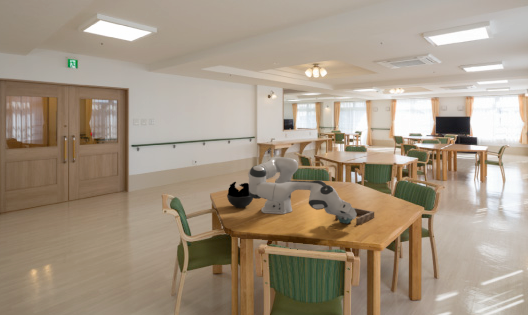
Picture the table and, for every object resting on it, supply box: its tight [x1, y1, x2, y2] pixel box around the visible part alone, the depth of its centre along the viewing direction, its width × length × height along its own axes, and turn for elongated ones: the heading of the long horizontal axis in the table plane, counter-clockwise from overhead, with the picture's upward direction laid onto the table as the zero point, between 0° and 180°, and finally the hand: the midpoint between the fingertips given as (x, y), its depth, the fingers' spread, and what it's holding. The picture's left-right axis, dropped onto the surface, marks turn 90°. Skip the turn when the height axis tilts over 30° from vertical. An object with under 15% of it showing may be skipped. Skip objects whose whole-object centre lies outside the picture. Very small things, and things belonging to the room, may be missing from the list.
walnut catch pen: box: [334, 207, 375, 226], centre depth 216 cm, size 22×16×4 cm
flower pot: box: [338, 207, 356, 224], centre depth 207 cm, size 9×9×9 cm
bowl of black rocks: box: [226, 181, 254, 209], centre depth 245 cm, size 20×20×19 cm
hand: (344, 218), depth 203 cm, fingers closed
